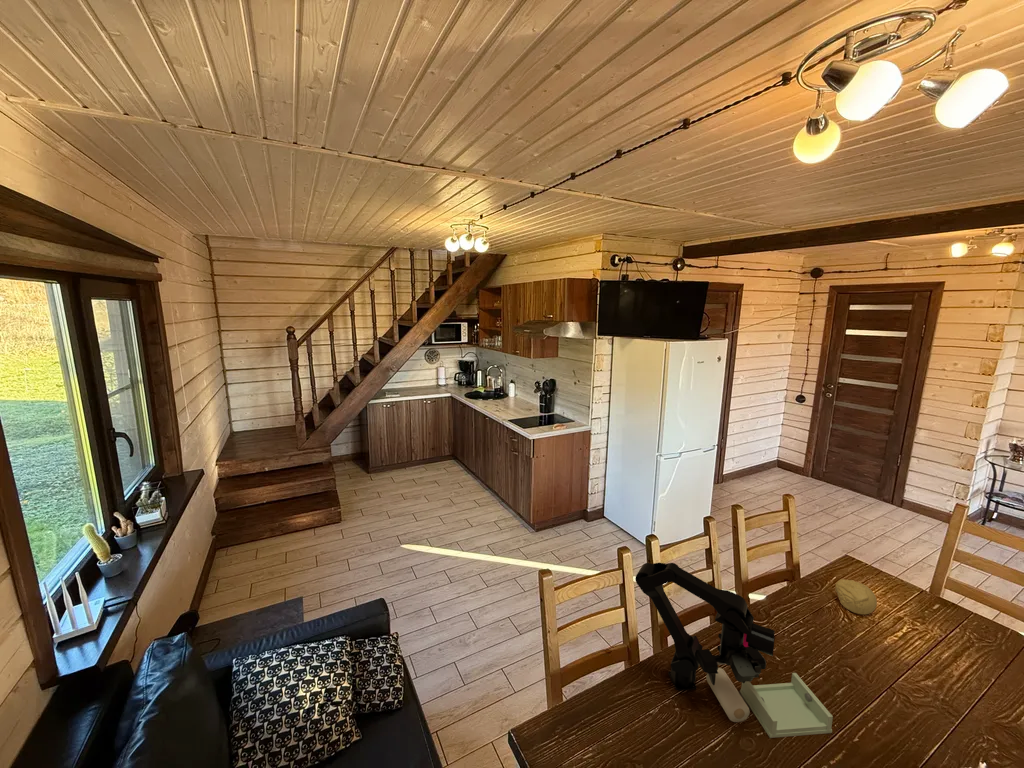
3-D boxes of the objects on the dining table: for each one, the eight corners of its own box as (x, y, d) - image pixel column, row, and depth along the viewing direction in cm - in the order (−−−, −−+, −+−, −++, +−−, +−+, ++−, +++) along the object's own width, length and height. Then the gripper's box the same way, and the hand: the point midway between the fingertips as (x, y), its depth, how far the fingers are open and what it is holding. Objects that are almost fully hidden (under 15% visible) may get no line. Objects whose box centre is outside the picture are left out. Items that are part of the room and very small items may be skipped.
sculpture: (828, 599, 168) (831, 575, 166) (855, 596, 169) (858, 572, 167) (854, 620, 156) (857, 595, 154) (882, 617, 158) (886, 592, 156)
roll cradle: (770, 737, 115) (771, 721, 114) (739, 691, 128) (741, 676, 127) (831, 732, 116) (834, 716, 115) (795, 687, 129) (797, 672, 128)
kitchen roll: (749, 722, 119) (751, 703, 118) (728, 724, 119) (729, 706, 118) (724, 682, 132) (725, 665, 130) (705, 684, 131) (705, 667, 130)
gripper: (716, 663, 113) (711, 710, 116) (782, 658, 114) (776, 706, 117) (695, 631, 124) (692, 675, 127) (756, 627, 125) (751, 672, 128)
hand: (727, 682), depth 124 cm, fingers open, 9 cm apart
